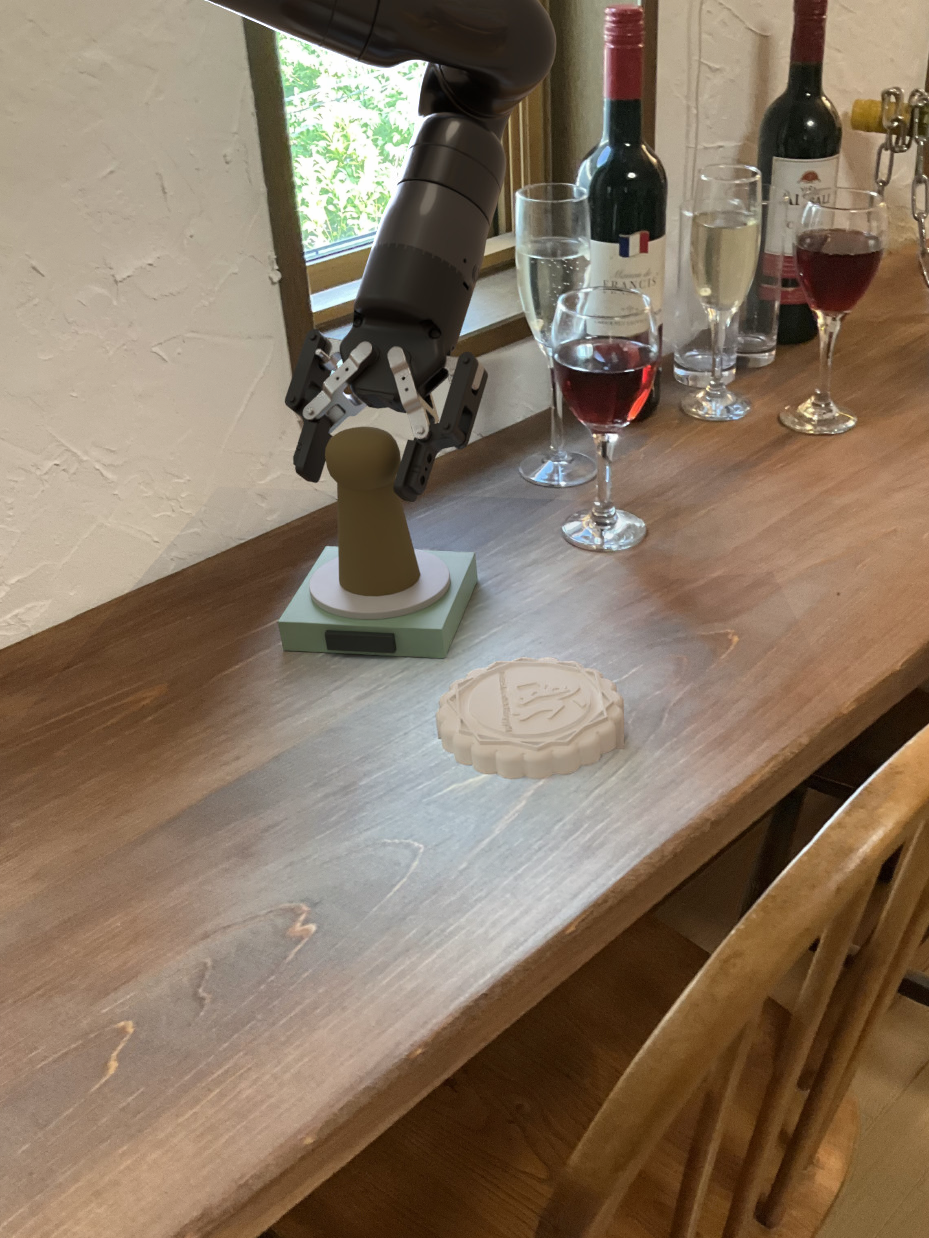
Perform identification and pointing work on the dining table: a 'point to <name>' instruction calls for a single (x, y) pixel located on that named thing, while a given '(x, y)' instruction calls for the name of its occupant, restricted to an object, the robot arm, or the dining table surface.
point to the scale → (381, 610)
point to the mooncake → (531, 718)
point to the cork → (370, 513)
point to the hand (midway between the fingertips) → (354, 487)
